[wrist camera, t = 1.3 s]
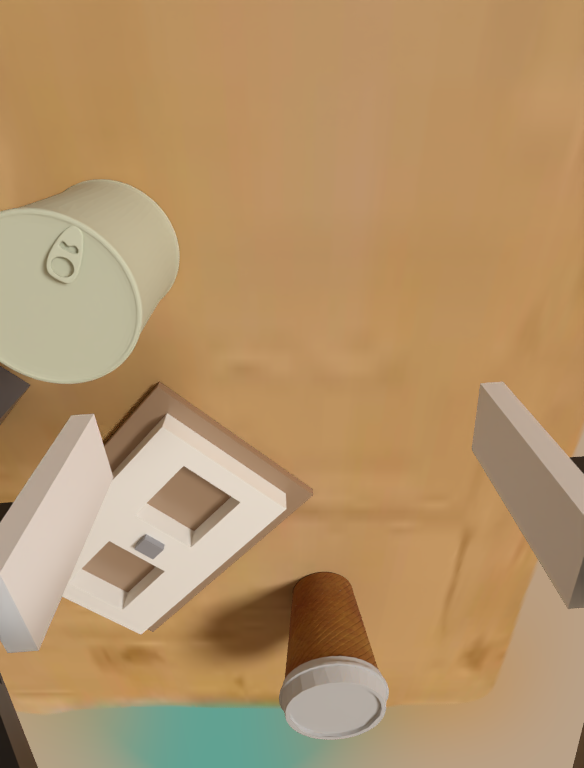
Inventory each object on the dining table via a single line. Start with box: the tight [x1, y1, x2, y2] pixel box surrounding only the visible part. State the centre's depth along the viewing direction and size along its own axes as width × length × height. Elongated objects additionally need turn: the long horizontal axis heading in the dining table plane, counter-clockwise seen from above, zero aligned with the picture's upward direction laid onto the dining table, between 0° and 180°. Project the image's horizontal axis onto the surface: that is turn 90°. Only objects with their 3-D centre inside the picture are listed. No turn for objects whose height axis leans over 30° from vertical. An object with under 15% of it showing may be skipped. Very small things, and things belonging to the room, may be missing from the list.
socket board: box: [62, 382, 313, 634], centre depth 45 cm, size 17×25×3 cm
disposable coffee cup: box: [279, 572, 389, 739], centre depth 47 cm, size 10×10×12 cm
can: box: [0, 179, 179, 384], centre depth 29 cm, size 9×9×12 cm
